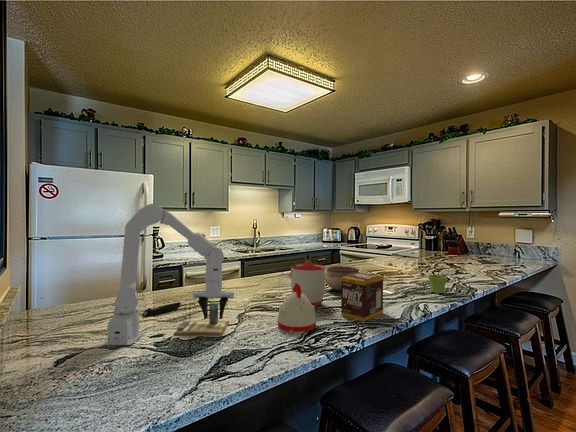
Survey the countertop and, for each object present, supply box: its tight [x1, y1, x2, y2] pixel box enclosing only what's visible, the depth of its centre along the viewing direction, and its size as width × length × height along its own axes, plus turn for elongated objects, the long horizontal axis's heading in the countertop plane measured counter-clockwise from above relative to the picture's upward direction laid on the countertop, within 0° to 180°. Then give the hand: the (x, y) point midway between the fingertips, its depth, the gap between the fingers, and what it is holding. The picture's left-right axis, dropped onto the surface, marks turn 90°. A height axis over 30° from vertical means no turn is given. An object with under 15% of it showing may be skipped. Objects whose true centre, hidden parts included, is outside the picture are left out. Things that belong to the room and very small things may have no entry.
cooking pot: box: [325, 264, 360, 293], centre depth 164 cm, size 25×19×12 cm
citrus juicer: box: [287, 259, 326, 308], centre depth 139 cm, size 16×17×20 cm
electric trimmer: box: [142, 301, 181, 318], centre depth 126 cm, size 4×15×3 cm, turn 139°
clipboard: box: [173, 320, 230, 337], centre depth 108 cm, size 12×16×1 cm
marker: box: [208, 302, 219, 325], centre depth 111 cm, size 3×3×7 cm
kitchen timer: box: [277, 283, 317, 332], centre depth 113 cm, size 14×14×15 cm
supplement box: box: [340, 272, 384, 322], centre depth 125 cm, size 10×15×16 cm
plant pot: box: [427, 274, 448, 294], centre depth 162 cm, size 9×9×9 cm
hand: (213, 318), depth 111 cm, fingers open, 5 cm apart
